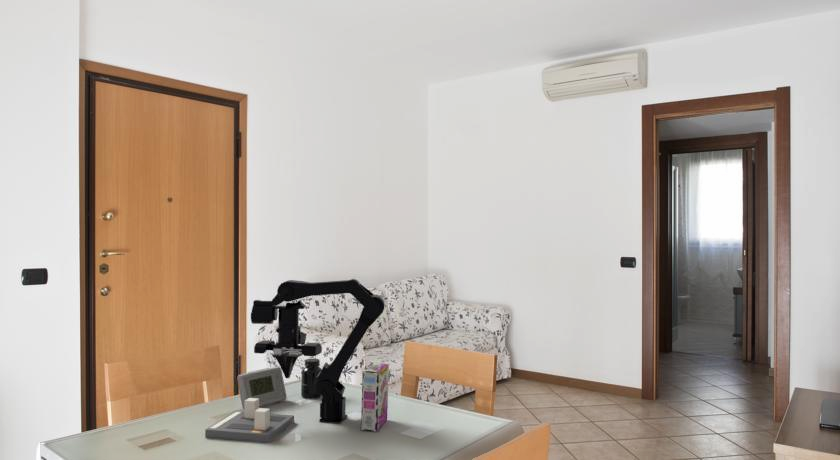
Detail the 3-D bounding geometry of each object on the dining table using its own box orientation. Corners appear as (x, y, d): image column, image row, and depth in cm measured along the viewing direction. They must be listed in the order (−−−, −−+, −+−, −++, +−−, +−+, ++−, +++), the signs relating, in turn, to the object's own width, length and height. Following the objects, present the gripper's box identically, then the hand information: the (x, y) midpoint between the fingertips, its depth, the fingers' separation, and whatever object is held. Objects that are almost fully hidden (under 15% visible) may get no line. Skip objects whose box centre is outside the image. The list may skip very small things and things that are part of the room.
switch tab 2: (269, 426, 151) (269, 408, 151) (264, 430, 149) (265, 411, 149) (259, 425, 152) (259, 408, 152) (254, 429, 149) (254, 411, 149)
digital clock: (242, 413, 169) (243, 377, 170) (231, 405, 176) (231, 371, 177) (292, 403, 180) (292, 369, 180) (279, 396, 187) (279, 364, 187)
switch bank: (294, 422, 161) (294, 415, 161) (269, 442, 146) (269, 434, 146) (235, 417, 165) (236, 410, 165) (205, 437, 149) (205, 429, 149)
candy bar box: (378, 432, 154) (378, 372, 154) (360, 431, 155) (361, 371, 155) (388, 419, 165) (389, 363, 165) (372, 418, 166) (372, 362, 166)
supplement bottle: (297, 398, 185) (298, 361, 185) (305, 392, 192) (306, 357, 192) (318, 399, 184) (318, 362, 184) (324, 393, 191) (325, 358, 191)
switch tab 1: (258, 415, 161) (259, 398, 161) (254, 418, 158) (254, 401, 158) (249, 414, 161) (249, 397, 161) (244, 417, 158) (244, 400, 158)
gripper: (328, 321, 170) (327, 373, 170) (270, 318, 174) (270, 369, 174) (315, 327, 159) (314, 382, 159) (253, 324, 163) (252, 378, 163)
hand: (287, 377), depth 164 cm, fingers closed
